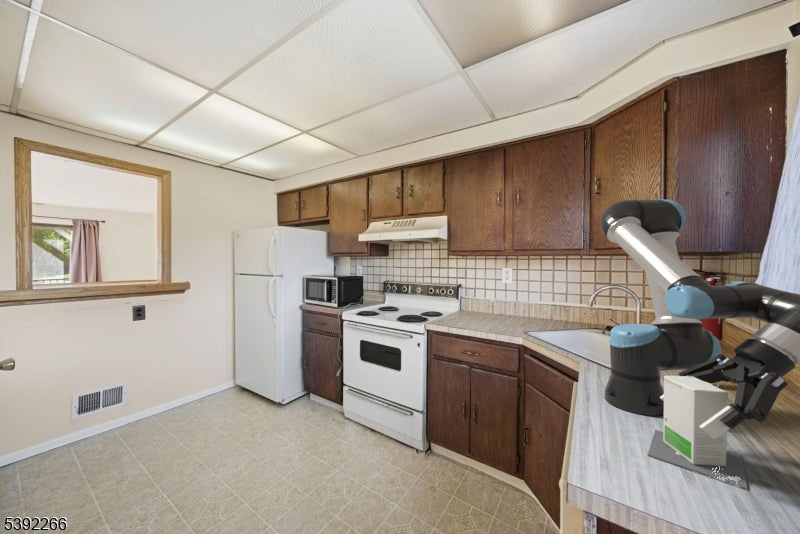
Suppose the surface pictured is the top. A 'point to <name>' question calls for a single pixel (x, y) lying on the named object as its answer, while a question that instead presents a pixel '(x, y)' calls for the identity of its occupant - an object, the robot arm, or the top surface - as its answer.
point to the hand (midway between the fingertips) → (683, 416)
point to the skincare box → (693, 419)
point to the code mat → (671, 456)
